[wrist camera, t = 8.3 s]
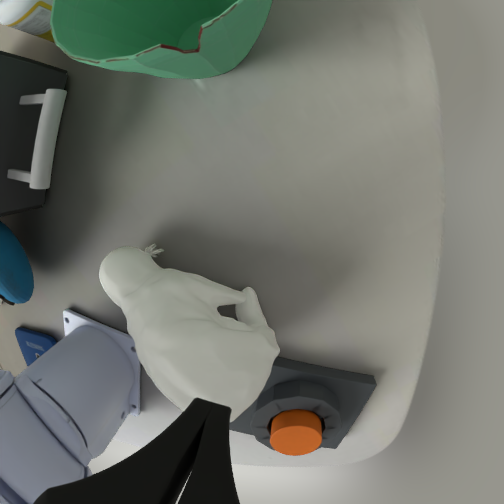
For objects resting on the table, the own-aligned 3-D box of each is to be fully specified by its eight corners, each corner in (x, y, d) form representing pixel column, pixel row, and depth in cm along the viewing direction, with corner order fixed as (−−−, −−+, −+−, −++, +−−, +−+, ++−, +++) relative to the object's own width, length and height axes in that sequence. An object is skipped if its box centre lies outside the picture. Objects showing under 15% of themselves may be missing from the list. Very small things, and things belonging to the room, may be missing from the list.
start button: (311, 442, 19) (311, 458, 18) (266, 434, 20) (264, 451, 18) (328, 413, 18) (330, 430, 17) (279, 404, 19) (278, 421, 17)
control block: (335, 439, 22) (337, 464, 19) (226, 418, 23) (219, 443, 20) (373, 375, 20) (382, 400, 17) (246, 348, 21) (240, 373, 18)
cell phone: (95, 439, 26) (98, 436, 26) (50, 339, 22) (55, 335, 23) (54, 421, 27) (58, 418, 28) (12, 327, 24) (17, 325, 24)
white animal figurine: (212, 458, 13) (41, 322, 13) (247, 375, 21) (120, 282, 22) (283, 393, 11) (63, 228, 12) (298, 313, 19) (152, 212, 20)
